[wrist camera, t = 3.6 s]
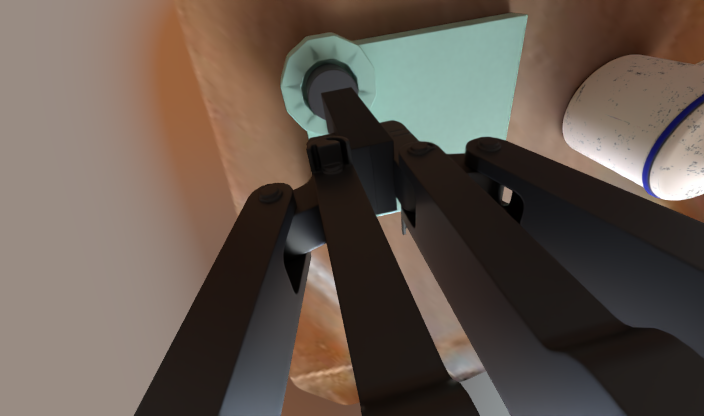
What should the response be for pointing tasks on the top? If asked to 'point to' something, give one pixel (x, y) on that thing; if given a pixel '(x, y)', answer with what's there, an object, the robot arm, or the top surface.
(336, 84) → the tare button
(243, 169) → the top surface
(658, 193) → the teacup with lid
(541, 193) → the robot arm
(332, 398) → the top surface
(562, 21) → the top surface
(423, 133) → the scale
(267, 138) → the top surface
